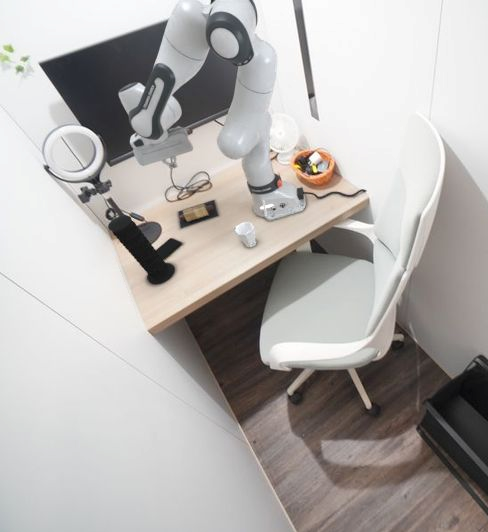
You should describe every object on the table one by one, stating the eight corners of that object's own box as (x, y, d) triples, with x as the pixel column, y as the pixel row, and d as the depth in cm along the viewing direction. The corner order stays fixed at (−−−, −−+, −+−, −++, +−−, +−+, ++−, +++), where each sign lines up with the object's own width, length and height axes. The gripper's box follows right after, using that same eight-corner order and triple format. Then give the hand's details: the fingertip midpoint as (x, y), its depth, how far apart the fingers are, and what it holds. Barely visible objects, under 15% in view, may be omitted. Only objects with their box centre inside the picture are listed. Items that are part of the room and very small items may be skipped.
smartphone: (140, 262, 122) (170, 237, 129) (141, 264, 122) (171, 238, 130) (152, 268, 119) (182, 242, 127) (153, 269, 119) (183, 243, 127)
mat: (214, 200, 144) (213, 199, 144) (218, 215, 137) (218, 215, 137) (178, 212, 142) (178, 211, 141) (181, 228, 134) (180, 227, 134)
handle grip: (162, 259, 122) (141, 278, 117) (120, 206, 102) (93, 226, 96) (180, 268, 119) (160, 288, 113) (141, 214, 98) (114, 235, 93)
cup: (251, 252, 120) (244, 236, 114) (232, 244, 124) (224, 229, 118) (263, 240, 124) (257, 224, 118) (244, 232, 128) (237, 217, 122)
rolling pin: (215, 215, 137) (210, 206, 133) (182, 226, 134) (177, 217, 130) (213, 208, 140) (209, 199, 136) (181, 219, 137) (176, 210, 133)
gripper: (182, 121, 118) (199, 155, 128) (126, 138, 115) (148, 171, 125) (184, 128, 114) (201, 162, 124) (125, 145, 111) (148, 179, 121)
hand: (174, 167), depth 125 cm, fingers closed
